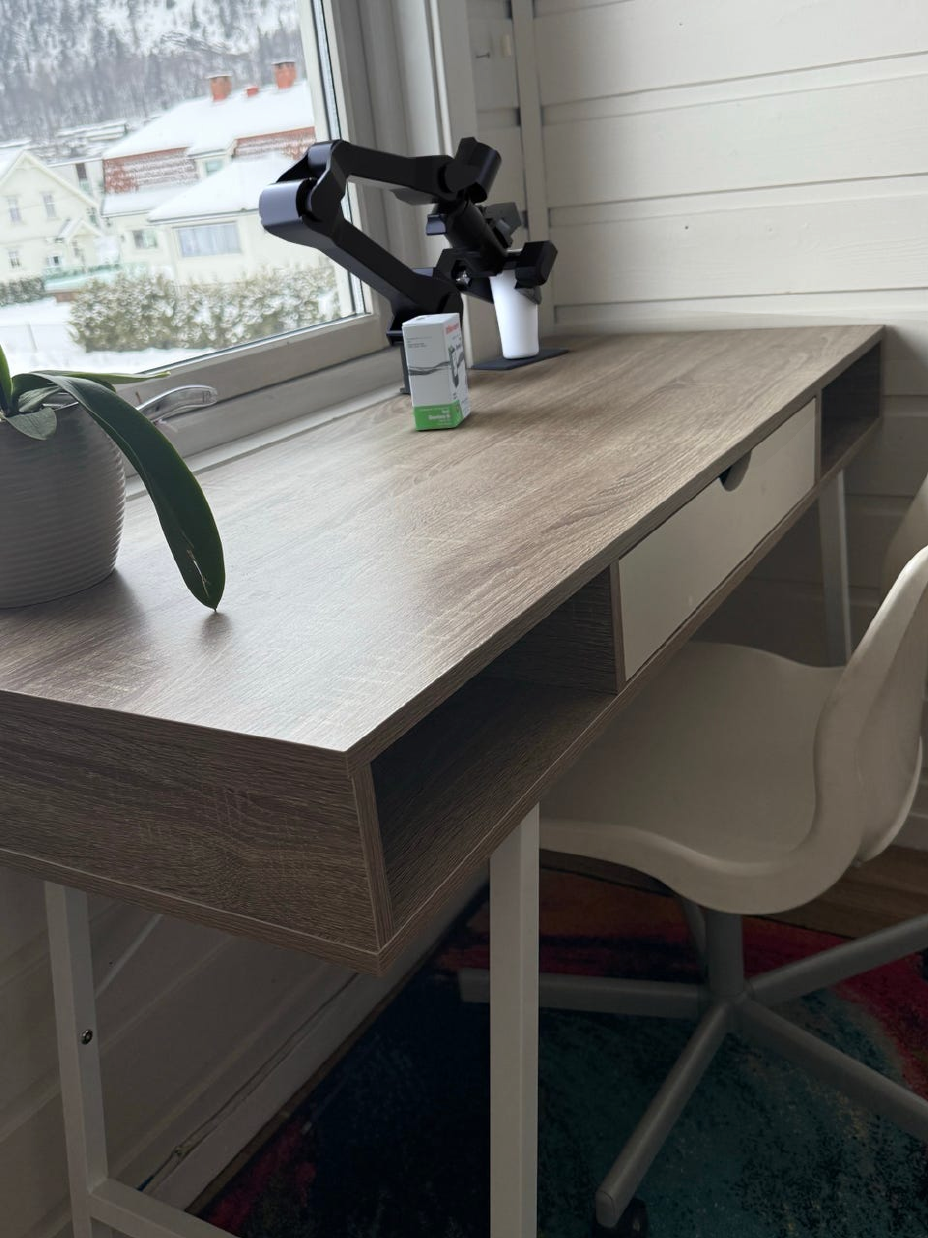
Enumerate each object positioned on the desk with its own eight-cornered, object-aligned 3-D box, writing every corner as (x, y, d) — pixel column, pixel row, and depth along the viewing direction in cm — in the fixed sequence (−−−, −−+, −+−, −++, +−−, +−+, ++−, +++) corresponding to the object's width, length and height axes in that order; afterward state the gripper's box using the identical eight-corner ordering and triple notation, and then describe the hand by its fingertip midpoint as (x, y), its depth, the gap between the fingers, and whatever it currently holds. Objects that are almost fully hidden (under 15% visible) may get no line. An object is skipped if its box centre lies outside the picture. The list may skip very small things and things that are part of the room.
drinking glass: (523, 359, 164) (512, 250, 159) (488, 360, 168) (477, 254, 164) (553, 352, 168) (544, 245, 164) (519, 353, 173) (509, 249, 168)
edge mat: (506, 369, 162) (506, 367, 162) (471, 368, 167) (470, 365, 167) (569, 351, 171) (569, 349, 171) (534, 351, 176) (533, 348, 176)
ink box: (456, 428, 128) (443, 320, 124) (413, 431, 129) (399, 324, 125) (472, 412, 136) (460, 310, 131) (431, 415, 137) (418, 314, 133)
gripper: (544, 176, 152) (593, 253, 164) (434, 189, 163) (487, 261, 175) (516, 244, 149) (568, 318, 161) (406, 253, 160) (462, 322, 172)
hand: (520, 302), depth 167 cm, fingers closed on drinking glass, 6 cm apart
